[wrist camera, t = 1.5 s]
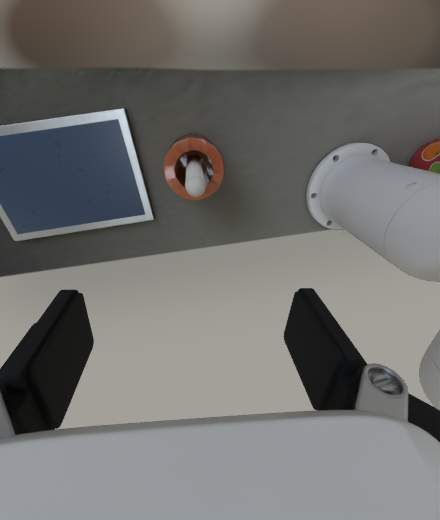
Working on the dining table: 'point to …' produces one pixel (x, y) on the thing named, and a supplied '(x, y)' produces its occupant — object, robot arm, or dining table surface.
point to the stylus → (194, 177)
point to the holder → (178, 161)
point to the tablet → (71, 175)
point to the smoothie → (427, 157)
